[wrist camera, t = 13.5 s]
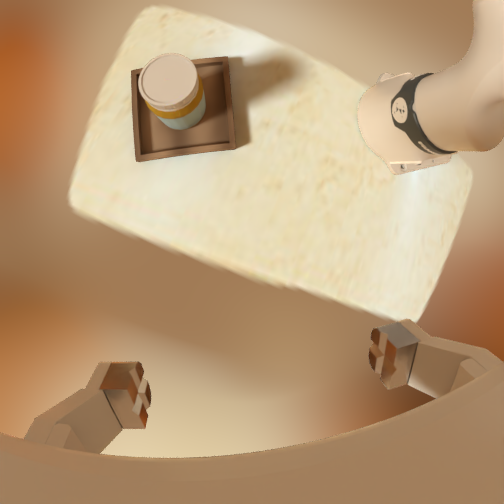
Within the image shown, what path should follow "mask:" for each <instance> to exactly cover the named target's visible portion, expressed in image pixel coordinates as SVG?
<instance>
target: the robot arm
mask: <svg viewBox="0 0 504 504" xmlns="http://www.w3.org/2000/svg"><path fill="white" fill-rule="evenodd" d="M472 8H473V14H474V32H473V38H472V42H471V45H470V47H469V50H468V52H467V53H466V55H465V56H464V58H463V59H462V60H461V61H460V62H458V63H457V64H455V65H453V66H451V67H449V68H447V69H445V70H443V71H440V72H438V73H435V74H434V73H427V74H420V75H417V76H415V75H412V74H411V73H404V74H401V75H397V76H395V75H392V74H389V73H384V74H382V75H380V77H379V79H378V81H377V83H376V84H375V85H374V86H372V87H371V88H369V89H368V90H367V91H366V92H365V93H364V94H363V96H362V97H361V100H360V102H359V105H358V113H357V117H358V125H359V129H360V132H361V134H362V137H363V139H364V140H365V142H366V144H367V145H368V146H369V148H370V149H371V150H372V151H373V152H374V153H375V154H376V155H378V156H379V157H380V158H381V159H383V160H384V161H385V163H386V165H387V166H388V168H389V170H390V171H391V172H392V173H393V174H394V175H399V174H403V173H407V172H411V171H415V170H419V169H423V168H427V167H432V166H436V165H440V164H444V163H448V162H449V161H450V158H451V155H452V154H455V153H457V152H458V151H488V150H491V149H493V148H495V147H496V146H497V145H498V144H499V143H500V142H501V140H502V139H503V137H504V0H473V7H472ZM401 165H402V168H401ZM371 340H372V341H373V344H372V346H371V347H370V348H369V363H370V365H371V368H372V369H373V370H374V372H376V373H378V374H381V377H380V380H381V381H382V382H383V384H384V385H385V386H386V388H387V389H388V390H390V389H393V388H396V387H399V386H402V385H405V384H408V385H410V386H412V387H414V388H416V389H418V390H420V391H422V392H424V393H426V394H428V395H430V396H432V397H435V398H437V399H435V400H433V401H431V402H428V403H426V404H424V405H422V406H419V407H417V408H415V409H412V410H410V411H408V412H405V413H403V414H400V415H397V416H395V417H392V418H390V419H387V420H384V421H381V422H378V423H375V424H373V425H370V426H366V427H363V428H360V429H357V430H354V431H350V432H347V433H343V434H340V435H336V436H332V437H328V438H325V439H320V440H317V441H312V442H308V443H303V444H298V445H293V446H288V447H283V448H278V449H271V450H265V451H259V452H251V453H243V454H234V455H225V456H212V457H193V458H145V457H128V456H115V455H105V454H100V453H101V452H102V451H103V450H104V448H106V447H107V446H108V445H109V444H110V442H111V441H112V440H113V439H114V438H115V437H116V436H117V435H118V434H119V433H120V432H121V431H122V429H145V428H146V423H147V418H148V414H147V412H146V409H147V408H149V407H150V404H151V391H150V386H149V383H148V381H147V380H146V379H144V378H143V374H144V370H143V367H142V364H141V363H140V362H138V361H137V362H136V361H135V362H100V363H98V365H97V367H96V369H95V371H94V373H93V374H92V377H91V378H90V380H89V382H88V384H87V386H86V388H85V389H80V390H79V391H77V392H76V393H74V394H73V395H71V396H70V397H68V398H66V399H65V400H63V401H62V402H60V403H58V404H57V405H56V406H54V407H52V408H51V409H49V410H47V411H46V412H44V413H43V414H41V415H39V416H38V417H36V418H35V419H34V421H33V423H32V425H31V426H30V428H29V430H28V432H27V434H26V435H25V438H24V439H21V438H18V437H14V436H11V435H8V434H4V433H1V432H0V504H504V362H502V361H501V360H500V359H498V358H497V357H496V356H495V355H493V354H492V353H491V352H490V351H488V350H487V349H485V348H481V347H476V346H472V345H468V344H464V343H459V342H455V341H451V340H447V339H443V338H439V337H431V336H429V335H428V334H427V333H426V332H425V331H424V330H422V329H421V328H420V327H418V326H417V325H416V324H415V323H414V322H413V321H411V320H410V319H404V320H401V321H398V322H395V323H392V324H389V325H385V326H381V327H377V328H373V330H372V332H371Z"/></svg>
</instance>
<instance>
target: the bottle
mask: <svg viewBox="0 0 504 504" xmlns="http://www.w3.org/2000/svg"><path fill="white" fill-rule="evenodd" d="M138 86H139V91H140V93H141V95H142V97H143V98H144V99H145V102H146V104H147V106H148V108H149V109H150V111H152V112H153V113H154V114H155V115H156V116H157V117H158V118H159V119H160V120H161V121H162V122H163V123H164V124H165V125H167V126H168V127H170V128H172V129H175V130H185V129H189V128H191V127H193V126H195V125H196V124H198V123H199V122H200V121H201V119H202V118H203V116H204V114H205V109H206V102H205V95H204V88H203V82H202V79H201V77H200V76H199V74H198V73H197V70H196V68H195V65H194V64H193V63H192V61H191V60H190V59H188V58H187V57H185V56H183V55H181V54H176V53H167V54H162V55H159V56H157V57H155V58H153V59H152V60H150V61H149V62H148V63H147V64H146V65H145V66H144V68H143V69H142V71H141V73H140V76H139V81H138Z"/></svg>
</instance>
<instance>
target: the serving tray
mask: <svg viewBox="0 0 504 504" xmlns="http://www.w3.org/2000/svg"><path fill="white" fill-rule="evenodd" d="M191 61H192V63H193V64H194V65H195V68H196V70H197V73H198V74H199V76H200V77H201V79H202V82H203V88H204V95H205V102H206V109H205V114H204V116H203V118H202V119H201V121H200V122H199V123H198V124H196V125H195V126H193V127H191V128H189V129H185V130H175V129H172V128H170V127H168V126H167V125H165V124H164V123H163V122H162V121H161V120H160V119H159V118H158V117H157V116H156V115H155V114H154V113H153V112H152V111H150V109H149V108H148V106H147V104H146V102H145V99H144V98H143V97H142V95H141V93H140V91H139V86H138V81H139V76H140V73H141V71H142V69H143V68H141V69H136V70H132V71H131V88H132V115H133V132H134V145H135V157H136V162H143V161H149V160H155V159H161V158H168V157H175V156H182V155H189V154H197V153H205V152H214V151H224V150H234V149H236V143H235V132H234V121H233V110H232V99H231V87H230V76H229V64H228V57H215V58H205V59H196V60H191Z"/></svg>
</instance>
